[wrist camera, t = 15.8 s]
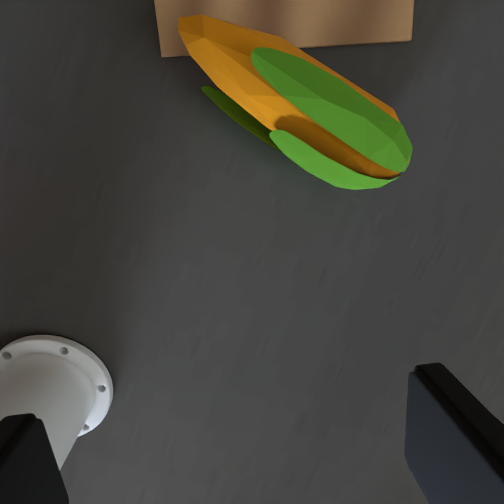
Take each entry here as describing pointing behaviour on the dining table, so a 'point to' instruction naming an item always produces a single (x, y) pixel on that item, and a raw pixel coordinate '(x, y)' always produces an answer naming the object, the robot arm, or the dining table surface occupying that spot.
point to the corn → (298, 104)
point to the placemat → (294, 20)
